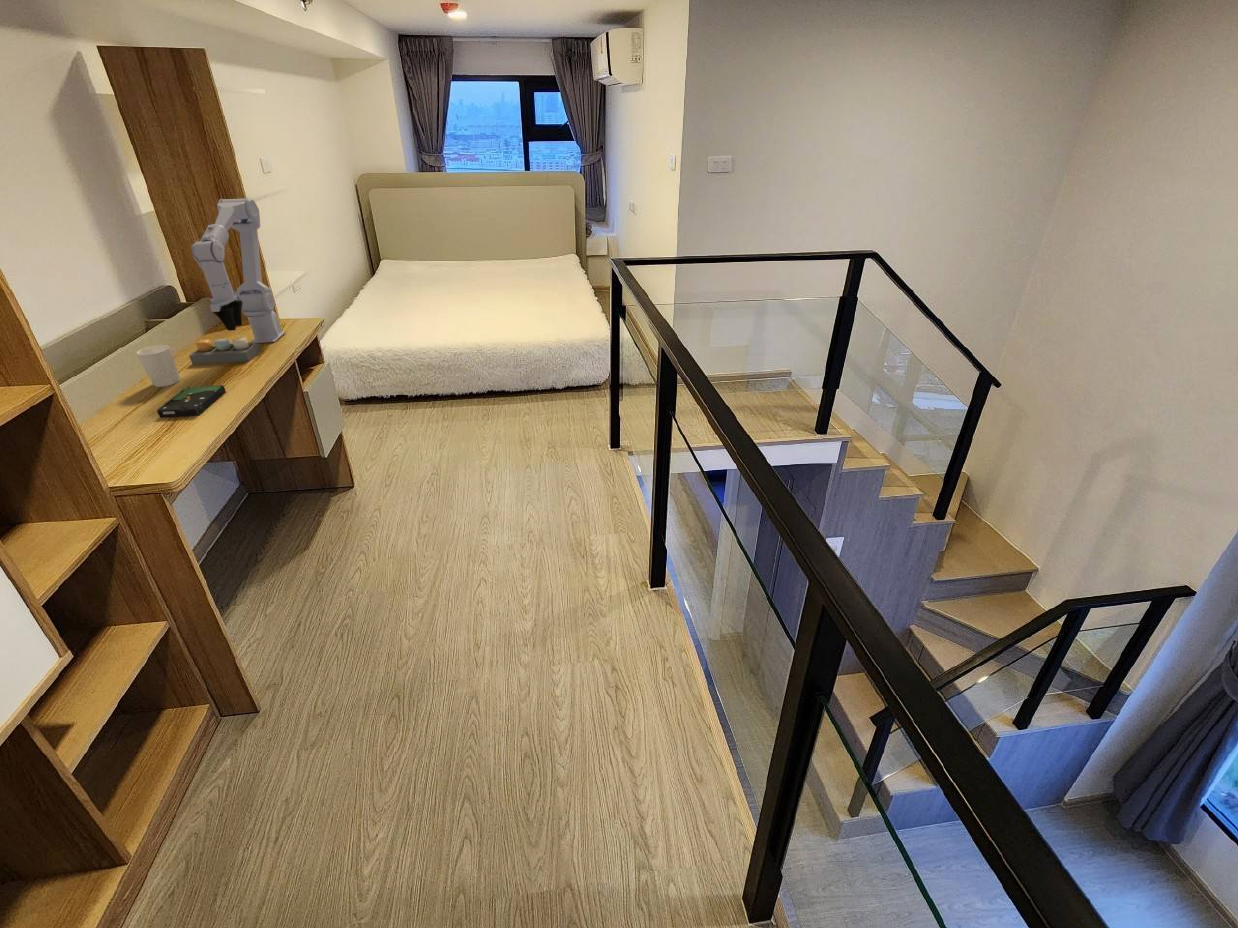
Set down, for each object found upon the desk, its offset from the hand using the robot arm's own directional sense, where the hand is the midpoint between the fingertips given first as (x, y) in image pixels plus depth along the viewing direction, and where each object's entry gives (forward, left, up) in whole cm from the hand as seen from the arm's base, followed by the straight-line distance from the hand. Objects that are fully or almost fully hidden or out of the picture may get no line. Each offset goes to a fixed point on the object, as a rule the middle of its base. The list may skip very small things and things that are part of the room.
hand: (235, 327), depth 194 cm
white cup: (+18, -15, -10) cm, 25 cm away
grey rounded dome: (0, -5, -6) cm, 8 cm away
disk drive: (+35, +1, -10) cm, 36 cm away
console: (0, -6, -9) cm, 11 cm away
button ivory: (0, 0, -6) cm, 6 cm away
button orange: (0, -11, -6) cm, 13 cm away
